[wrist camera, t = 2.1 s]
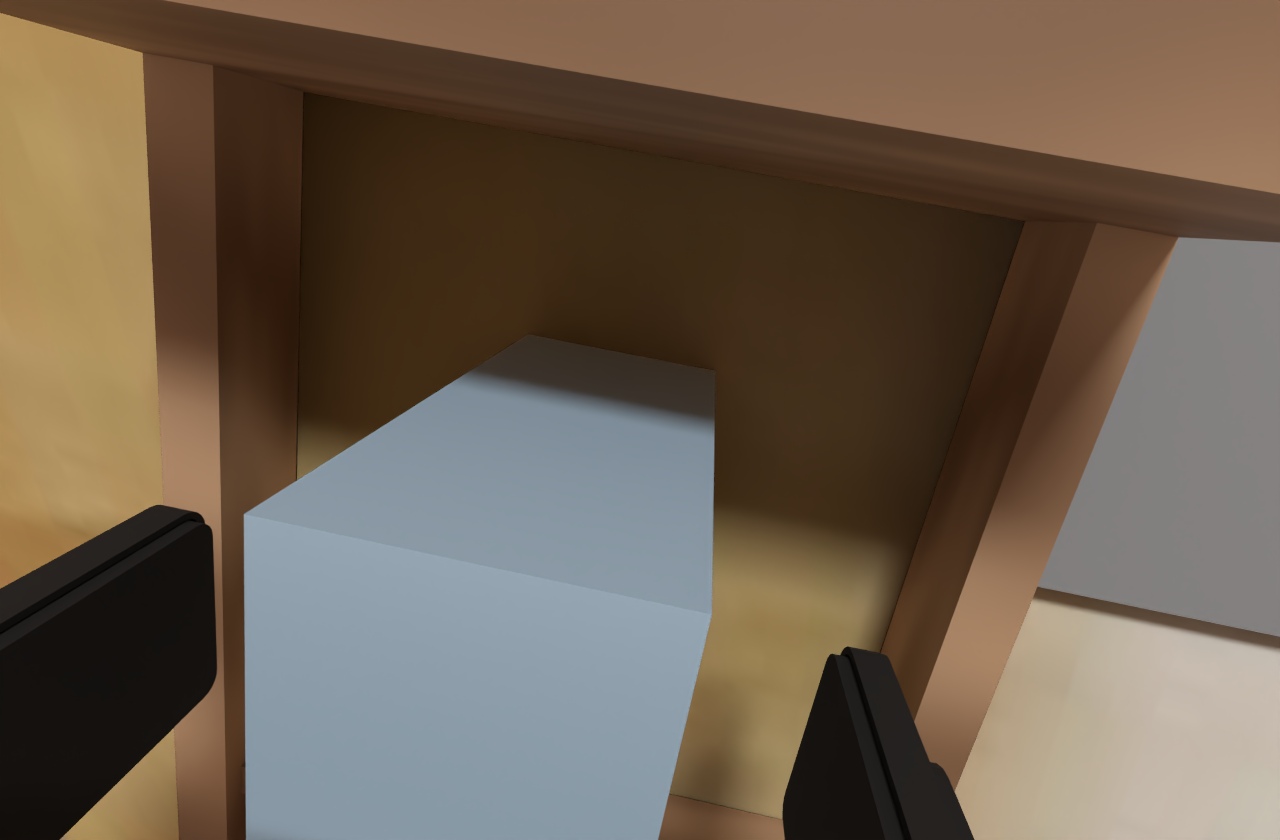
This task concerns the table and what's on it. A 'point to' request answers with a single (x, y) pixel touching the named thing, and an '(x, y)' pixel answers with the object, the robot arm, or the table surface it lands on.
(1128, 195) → the rack
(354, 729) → the pale blue upright prism
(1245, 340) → the mat
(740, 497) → the table surface
